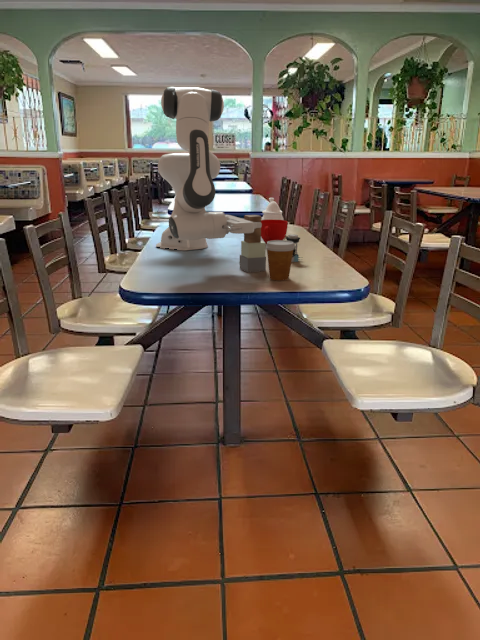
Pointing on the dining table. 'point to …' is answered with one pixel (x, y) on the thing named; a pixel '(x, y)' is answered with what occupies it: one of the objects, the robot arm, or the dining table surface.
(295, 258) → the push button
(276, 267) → the disposable coffee cup
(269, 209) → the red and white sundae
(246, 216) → the walnut post
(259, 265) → the tower base block
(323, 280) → the dining table surface
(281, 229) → the ceramic cup
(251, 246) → the tower top block
